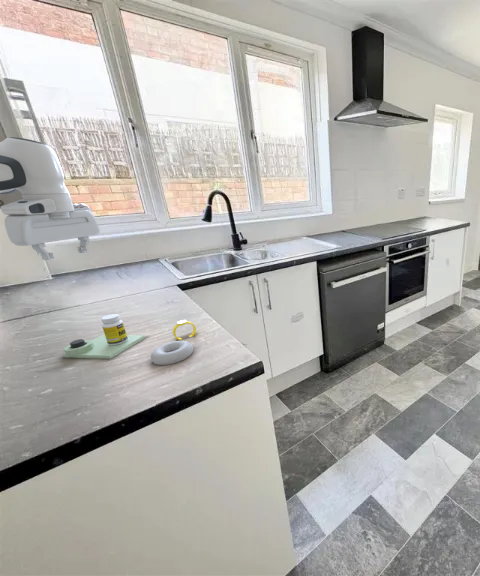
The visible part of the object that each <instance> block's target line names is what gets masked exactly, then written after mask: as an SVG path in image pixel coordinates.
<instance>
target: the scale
mask: <svg viewBox="0 0 480 576" xmlns="http://www.w3.org/2000/svg"><path fill="white" fill-rule="evenodd" d="M127 337H128V340H127V341H126V342H124V343H122V344H118V345H108V343H107V340H106V336H105V334H101V335H98V336H97V337H95V338H93V339H90V340H89V339H88V340H87V339H84V341H85V343H86V345H84V346H82V347H79V348H74V349H73V348H71V346H70V344H68V345H66V346H65V347H64V348H63V352H64V354H63V357H64V358H68V359H69V358H73V359H74V358H75V359H107V360H108V359H112V358H114V357H116V356H118V355H120V354H121V353H123V352H124V351H126V350H128V349H129V348H131V347H133V346H134V345H136V344H138V343H139V342H141V341H142V340H144V339H145V338H146V337H145V335H144V334H143V335H142V334H141V335H137V334H127Z"/></svg>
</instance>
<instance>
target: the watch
mask: <svg viewBox="0 0 480 576" xmlns="http://www.w3.org/2000/svg"><path fill="white" fill-rule="evenodd" d="M187 324H189V325H191V326H192V327H193V329H192V330H193V331H192V333H191V334H190V335H189V338H191V337H194V336H195V335H196V332H197V327H196V326H195V324H194V323H192V321H187V319H181V320H178V321H177V322H176V324H175V325H174V327H173V329H172V335H173V336H174V338H175V339H177V341H183V339H182V338H181V337H178V336H177V335H176V331H177V329H178V327H181V326H185V325H187Z"/></svg>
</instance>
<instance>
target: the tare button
mask: <svg viewBox="0 0 480 576" xmlns="http://www.w3.org/2000/svg"><path fill="white" fill-rule="evenodd" d="M69 345H70V346H71V348H73V349H74V348H79V347H82V346H84V345H86V343H85V339H83V338H80V339H79V338H78V339H75V340H73V341H70V342H69Z"/></svg>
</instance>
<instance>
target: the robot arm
mask: <svg viewBox="0 0 480 576" xmlns="http://www.w3.org/2000/svg"><path fill="white" fill-rule="evenodd" d="M16 192H20V194H21V197H22V198H21V199H17V200H15V201H13V202H9V203H7V204H3V205H2V206H1V207H0V210H1V213H2V214H3V215H5V218H4V226H5V231H6V235H7V236H8V238H9V241H10V242H11V244H14V245H15V246H17V247H19V246H21V247H26V246H31V247H32V249H33V251H35V252H37V254H39V255H40V257H41V259H42V261H51V260H54V259H55V256H54V254H53V253H54V252H48V251H47V249H45V248H46V243H53V242H59V241H67V240H72V239H73V240H74V239H77V240H78V241H79V246H76V248H77V249H76V250H77V252H78V253H79V254H85V253H89V247H88V246H89V243H90V237H91V236H97V235H99V234H100V232H101V230H100V227H99V223H98V221H97V220H96V217H95V215H94V213H93V211H92V209H91V207H89V206H88V205H86V204H85V203H73V200H72V197H71V194H70V191H69V190H68V188H67V186H66V184H65V174H64V171H63V169H62V166H61V163H60V161H59V158H58V156H57V154H56V152H55V151H54V150H53V149H52V148H51V146H49V145H47V144H46V143H43V142H41V141H37V140H35V139H27V138H23V137H17V136H11V137H6V138H5V139H3V140H2V141H0V195H10V194H13V193H16ZM6 215H7V216H6Z"/></svg>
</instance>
